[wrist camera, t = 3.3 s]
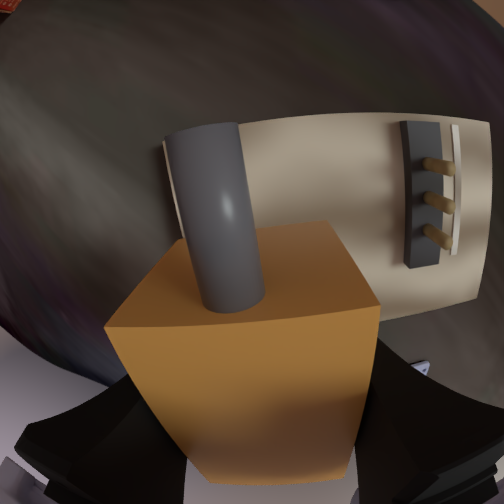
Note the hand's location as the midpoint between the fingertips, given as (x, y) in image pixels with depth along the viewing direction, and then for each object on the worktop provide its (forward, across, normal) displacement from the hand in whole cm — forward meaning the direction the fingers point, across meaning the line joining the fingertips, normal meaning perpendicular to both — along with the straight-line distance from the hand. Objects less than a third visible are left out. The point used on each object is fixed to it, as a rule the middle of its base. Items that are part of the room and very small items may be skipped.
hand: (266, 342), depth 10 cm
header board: (+9, -6, -1) cm, 11 cm away
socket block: (+1, 0, -2) cm, 2 cm away
